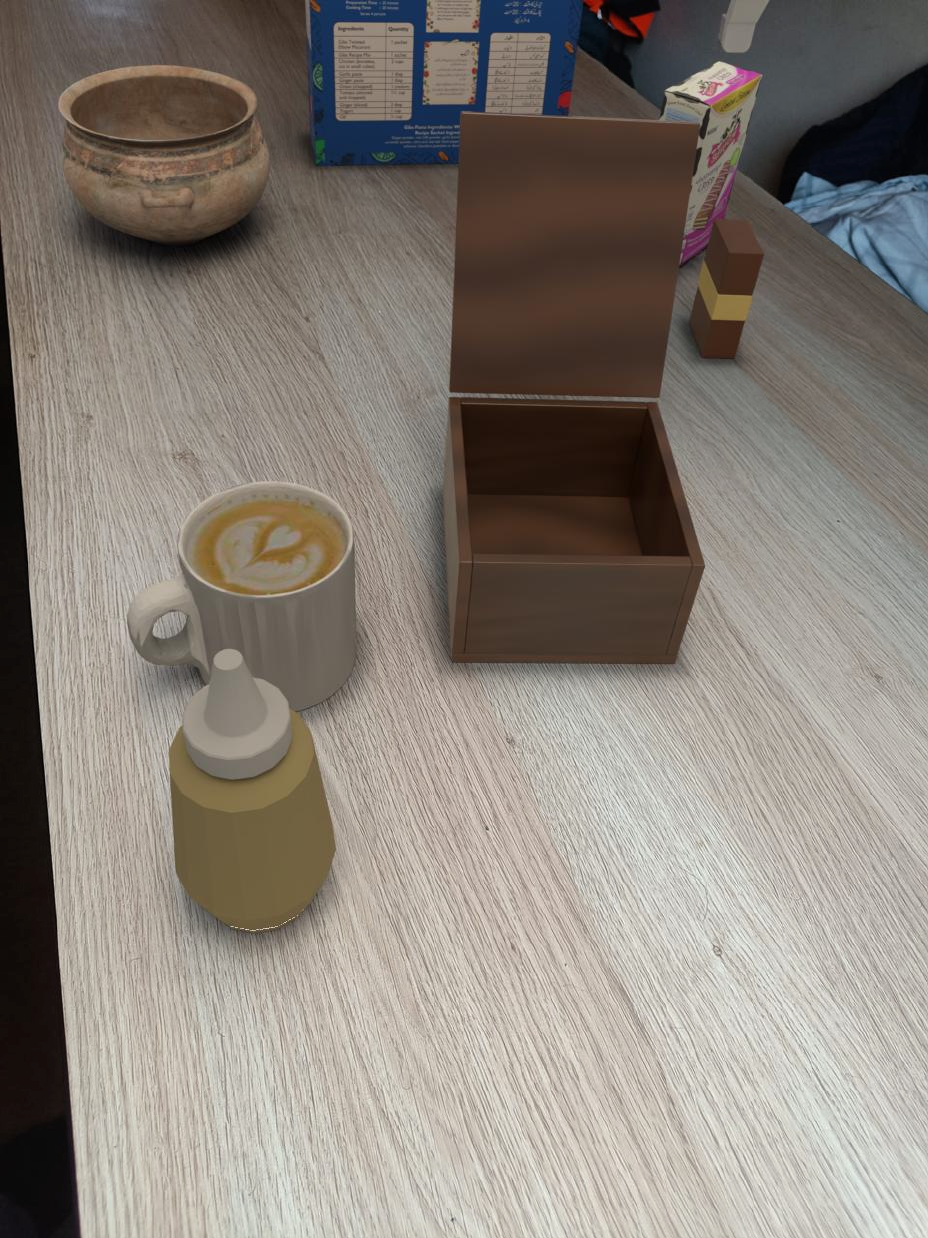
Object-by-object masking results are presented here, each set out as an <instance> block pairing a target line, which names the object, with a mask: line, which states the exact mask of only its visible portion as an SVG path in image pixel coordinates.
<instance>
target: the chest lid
mask: <svg viewBox="0 0 928 1238" xmlns="http://www.w3.org/2000/svg"><path fill="white" fill-rule="evenodd" d="M699 130H700V123H698V122H686V121H665V120H659V119H643V118H642V119H637V118H622V117H621V118H619V117H596V116H579V115H578V116H577V115H569V116H557V115H535V114H514V113H492V112H471V111H461V116H460V139H459V163H458V166H457V187H456V188H457V191H456V212H455V213H456V214H455V234H454V235H455V238H454V257H453V259H454V260H453V281H452V282H453V283H452V304H451V305H452V307H451V327H450V329H451V330H450V331H451V333H450V352H449V353H450V355H449V374H448V375H449V376H448V377H449V378H448V392H449V393H451V394H483V395H484V394H485V395H486V394H487V395H488V394H489V395H522V396H523V395H525V396H526V395H529V396H561V397H563V396H565V397H566V396H567V397H603V398H639V399H642V398H643V399H659V398H660V397H661V390H662V384H663V377H664V371H665V364H666V357H667V350H668V345H669V344H668V343H669V338H670V330H671V324H672V317H673V310H674V305H675V297H676V290H677V284H678V276H679V271H680V267H679V264H680V257H681V251H682V244H683V237H684V231H685V224H686V217H687V210H688V204H689V197H690V190H691V184H692V177H693V170H694V164H695V157H696V150H697V143H698V137H699Z"/></svg>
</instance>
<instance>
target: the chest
mask: <svg viewBox="0 0 928 1238" xmlns="http://www.w3.org/2000/svg"><path fill="white" fill-rule="evenodd" d="M447 404H448V405H447V418H446V419H447V420H446V434H445V435H446V436H445V437H446V438H445V452H444V467H443V483H442V484H443V485H442V487H443V488H442V508H443V509H442V511H443V529H444V530H443V532H444V548H445V549H444V550H445V567H446V587H447V605H448V625H449V627H448V628H449V645H450V647H449V648H450V661H451V663H515V664H516V663H520V664H521V663H522V664H524V663H525V664H527V663H528V664H529V663H531V664H532V663H534V664H538V663H539V664H541V663H542V664H544V663H545V664H561V663H562V664H566V663H567V664H676V661H677V659H678V655H679V652H680V648H681V645H682V642H683V639H684V634H685V632H686V630H687V629H686V628H687V626H688V623H689V619H690V617H691V613H692V610H693V606H694V603H695V600H696V597H697V593H698V590H699V587H700V584H701V581H702V578H703V574H704V572H705V568H706V564H705V560H704V556H703V553H702V550H701V546H700V543H699V539H698V536H697V532H696V529H695V526H694V523H693V519H692V516H691V512H690V509H689V506H688V502H687V498H686V494H685V491H684V487H683V485H682V481H681V478H680V474H679V471H678V468H677V464H676V462H675V457H674V454H673V451H672V447H671V445H670V441H669V438H668V434H667V431H666V427H665V424H664V421H663V417H662V414H661V410H660V407H659V406H660V405H659V404H658V402H657V401H636V400H635V401H633V400H632V401H631V400H630V401H629V400H628V401H627V400H597V399H596V400H594V399H590V400H589V399H557V398H556V399H555V398H554V399H552V398H551V399H550V398H518V397H517V398H514V397H513V398H512V397H478V396H477V397H476V396H475V397H473V396H472V397H470V396H461V397H460V396H449V397H448V403H447Z"/></svg>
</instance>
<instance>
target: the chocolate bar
mask: <svg viewBox="0 0 928 1238" xmlns="http://www.w3.org/2000/svg"><path fill="white" fill-rule="evenodd" d="M764 256H765V253H764V251H763V248H762V246H761V245H760V242H759V241H758V238H757V237H756V234H755V233H754V231H753V228H752V226H751V224H750V222H749V220H746V219H728V218H727V219H725V218H724V219H714V221H713V225H712V229H711V234H710V238H709V242H708V246H706V251H705V255H704V259H702V264H701V269H700V274H699V277H698V282H697V288H696V292H695V296H694V300H693V304H692V308H691V313H690V316H689V320H688V322H689V325H690V329H691V331H692V333H693V336H694V339H695V342H696V344H697V347H698V350H699V353H700V356H701V358H706V359H707V358H708V359H735V358H736V355H737V352H738V347H739V344H740V341H741V338H742V334H743V331H744V326H745V323H746V321H747V320H748V316H749V311H750V308H751V305H752V301H753V298H754V291H755V288H756V286H757V285H756V284H757V282H758V278H759V274H760V270H761V267H762V264H763V260H764Z"/></svg>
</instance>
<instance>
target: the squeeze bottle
mask: <svg viewBox="0 0 928 1238" xmlns="http://www.w3.org/2000/svg"><path fill="white" fill-rule="evenodd" d="M181 717H182V718H181V719H182V725H181V726H180V727H179V728H178V730H177V732H176V734H175V736H174V738H173V740H172V742H171V744H170V747H169V748H168V760H169V761H168V762H169V763H168V766H169V768H168V769H169V783H170V784H169V785H170V802H171V819H172V832H173V833H172V835H173V850H174V866H175V867H174V868H175V874H176V876H177V878H178V879H179V881H180V883H181V885H182V887H183V888H184V890H185V892H186V894H187V896H188V898H190V899H191V900H192V901H193V902H195V903H196V904H197V905H199V906H200V907H201V908H203V909H204V910H205V911H207V912H208V913H210V915H212V916H213V917H215V918H216V917H217V918H216V919H217V920H219V919H220V920H219V921H220V922H222V923H223V924H225V925H226V926H228V925H229V926H228V927H229V928H230V929H232V930H235V931H240V932H245V933H249V934H250V933H251V934H259V933H264V932H271V931H278V930H279V929H281V928H283V927H284V926H286V925H288V924H290V923H291V922H293V921H295V920H297V919H298V918H299V917H300V916H301V915H302V913H303V912H304V911H305V910H306V909H307V908H308V906H309V905H310V904H311V903H312V901H313V900H314V898H315V896H316V895H317V893H318V892H319V890H320V889H321V887H322V886H323V884H324V883H325V881H326V879H327V878H328V877H329V873H330V870H331V867H332V864H333V861H334V857H335V854H336V851H337V846H336V845H337V844H336V839H335V831H334V826H333V820H332V815H331V812H330V806H329V803H328V798H327V794H326V790H325V789H326V788H325V786H324V781H323V777H322V772H321V768H320V765H319V760H318V759H319V758H318V756H317V751H316V747H315V743H314V739H313V735H312V734H313V733H312V731H311V730H310V728H309V727H308V726H307V724H306V722H305V721H304V720H303V718H302V717H301V715H300V714H299V712H297V711H296V712H295V711H293V710H291V709H290V708H289V702H288V701H287V699H286V698H285V696H284V695H283V694H282V692H281V691H280V689H279V688H277V687H275V686H274V685H272V684H270V683H269V682H267V681H265V680H263V679H259V678H253V677H252V675H251V673H250V671H249V669H248V667H247V664H246V662H245V660H244V658H243V656H242V655H241V653H240V652H239V651H237V650H234V649H224V650H222V651H220V652H218V653H217V654H216V655H215V657H214V660H213V667H212V673H211V679H210V684H208V685H206V684H205V685H204V686H203V687H201V688H200V689H199V690H198V691H197V692H196V693H195V694H193V695H192V696H191V698H189V699H188V702H187V704H186V706H185V708H184V711H183V713H182V715H181ZM309 902H310V903H309ZM308 903H309V904H308ZM303 909H304V910H303ZM302 910H303V911H302ZM297 915H298V916H297ZM293 917H295V918H293ZM292 918H293V919H292ZM289 919H291V920H289ZM288 920H289V921H288ZM286 921H287V922H286ZM284 922H286V923H284ZM283 923H284V924H283ZM281 924H282V925H281ZM279 925H280V926H279ZM230 926H234V927H230ZM275 926H278V927H275ZM235 927H238V928H235ZM269 927H275V928H269ZM240 928H244V929H240ZM263 928H269V929H263ZM245 929H249V930H245ZM256 929H263V930H256ZM250 930H256V931H250Z"/></svg>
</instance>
